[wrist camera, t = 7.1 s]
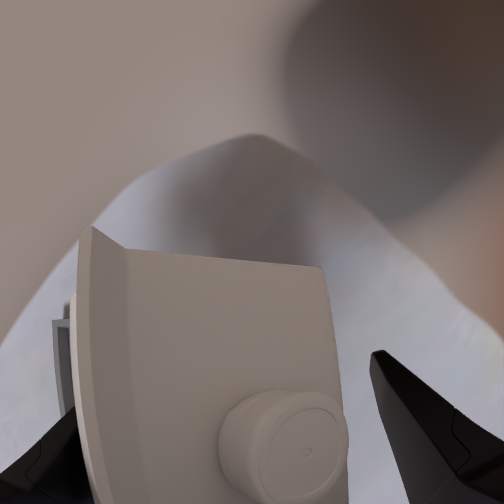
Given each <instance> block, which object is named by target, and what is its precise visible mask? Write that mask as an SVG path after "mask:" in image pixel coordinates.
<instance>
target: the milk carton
mask: <svg viewBox="0 0 504 504" xmlns="http://www.w3.org/2000/svg"><path fill="white" fill-rule="evenodd" d="M70 348H71V366H72V379H73V390H74V399H75V407H76V415H77V422H78V429H79V435H80V441H81V446H82V451H83V457H84V461H85V466H86V471H87V475H88V479H89V483H90V487H91V491H92V495H93V499H94V502H95V504H348V473H347V454H348V446H349V436H348V428H347V423H346V420H345V416H344V414H343V403H342V393H341V383H340V374H339V365H338V357H337V348H336V341H335V333H334V326H333V319H332V312H331V306H330V300H329V294H328V289H327V284H326V279H325V275H324V273H323V271H322V269H321V268H320V267H312V266H301V265H290V264H279V263H269V262H258V261H247V260H237V259H226V258H216V257H206V256H195V255H185V254H175V253H165V252H155V251H145V250H135V249H125V248H124V247H122V246H121V245H119V244H118V243H116V242H115V241H113V240H112V239H111V238H109V237H108V236H106V235H105V234H103V233H102V232H100V231H99V230H98V229H96V228H95V227H93V226H90V227H85V228H83V229H81V230H80V239H79V251H78V266H77V290H76V292H75V293H74V294H73V295H72V296H71V298H70Z"/></svg>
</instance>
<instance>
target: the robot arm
mask: <svg viewBox="0 0 504 504" xmlns="http://www.w3.org/2000/svg"><path fill="white" fill-rule="evenodd" d="M370 377H371V381H372V385H373V389H374V393H375V397H376V402H377V406H378V410H379V414H380V417H381V420H382V423H383V425H384V428H385V431H386V434H387V437H388V440H389V442H390V445H391V448H392V451H393V454H394V457H395V460H396V463H397V466H398V469H399V472H400V475H401V478H402V481H403V484H404V487H405V490H406V494H407V497H408V500H409V503H410V504H504V441H502V440H501V439H499V438H498V437H496V436H494V435H493V434H491V433H489V432H488V431H486V430H485V429H483V428H482V427H480V426H479V425H477V424H476V423H474V422H473V421H472V420H470V419H469V418H468V417H466V416H465V415H464V414H462V413H461V412H460V411H459V410H458V409H456V408H455V409H454V406H453V405H451V404H450V403H449V402H448V401H446V400H445V399H444V398H443V397H442V396H440V395H439V394H438V393H437V392H435V391H434V390H433V389H432V388H431V387H429V386H428V385H427V384H426V383H424V382H423V381H422V380H421V379H419V378H418V377H417V376H416V375H415V374H413V373H412V372H411V371H410V370H408V369H407V368H406V367H405V366H403V365H402V364H401V363H400V362H399V361H397V360H396V359H395V358H394V357H392V356H391V355H390V354H389V353H387V352H386V351H385V350H379V351H375V352H372V354H371V360H370ZM0 504H95V502H94V499H93V495H92V491H91V487H90V483H89V479H88V475H87V471H86V466H85V461H84V457H83V451H82V446H81V441H80V435H79V429H78V422H77V415H76V407H75V405H74V406H73V407H72V408H71V409H70V410H69V411H68V412H67V413H66V414H65V415H64V416H63V417H62V418H61V419H60V420H59V421H58V422H57V423H56V424H55V425H54V426H53V427H52V428H51V429H50V430H49V431H48V432H47V433H46V434H45V435H44V436H43V437H42V438H41V439H40V440H39V441H38V442H37V443H36V444H35V445H34V446H32V447H31V448H30V449H29V450H28V451H27V452H26V453H25V454H24V455H23V456H21V457H20V458H19V459H18V460H17V461H15V462H14V463H13V464H12V465H10V466H9V467H8V468H7V469H5V470H4V471H3V472H2V473H0Z"/></svg>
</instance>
